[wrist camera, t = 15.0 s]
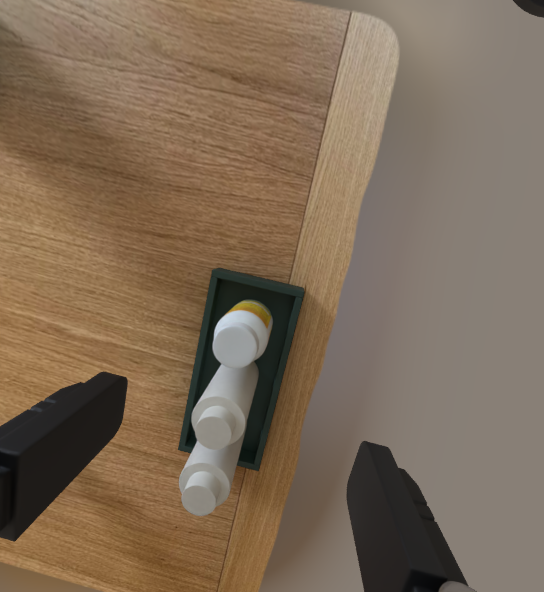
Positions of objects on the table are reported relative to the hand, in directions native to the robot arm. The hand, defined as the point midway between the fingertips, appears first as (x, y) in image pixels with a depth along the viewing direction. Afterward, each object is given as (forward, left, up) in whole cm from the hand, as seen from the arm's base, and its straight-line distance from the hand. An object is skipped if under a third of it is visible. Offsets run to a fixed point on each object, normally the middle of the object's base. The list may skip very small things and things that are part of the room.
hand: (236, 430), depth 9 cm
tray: (+9, -5, -25) cm, 27 cm away
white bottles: (+13, -5, -24) cm, 28 cm away
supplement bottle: (+3, -3, -24) cm, 25 cm away
